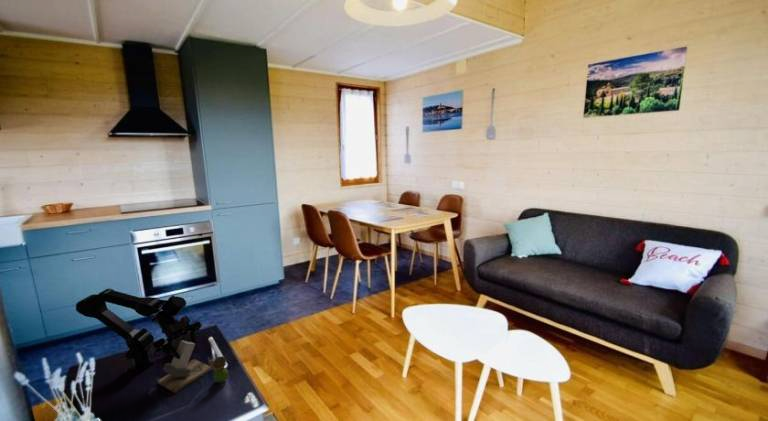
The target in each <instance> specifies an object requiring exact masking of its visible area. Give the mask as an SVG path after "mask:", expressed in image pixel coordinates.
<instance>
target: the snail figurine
mask: <svg viewBox="0 0 768 421" xmlns="http://www.w3.org/2000/svg"><path fill="white" fill-rule="evenodd" d="M207 362H208V366H210V367H211V368H212V371H214V372H213V374H212V375H213V376H212V378H213V381H214V382H216V383H219V384H220V383H224V382H225V381H226V380H227V379H228V377H229V375H230V374H229V370H228V369H227V368H226V366H227V363H226V362H227V359H226V358H225V356H218V357H217V358H215V359H214V361H213V360H212V359H210V357H207Z"/></svg>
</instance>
